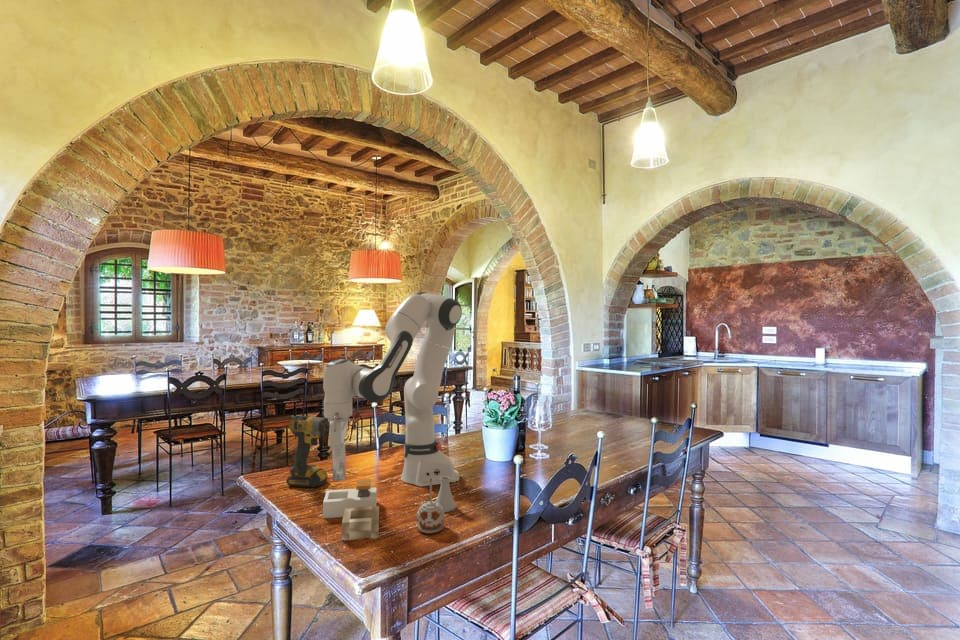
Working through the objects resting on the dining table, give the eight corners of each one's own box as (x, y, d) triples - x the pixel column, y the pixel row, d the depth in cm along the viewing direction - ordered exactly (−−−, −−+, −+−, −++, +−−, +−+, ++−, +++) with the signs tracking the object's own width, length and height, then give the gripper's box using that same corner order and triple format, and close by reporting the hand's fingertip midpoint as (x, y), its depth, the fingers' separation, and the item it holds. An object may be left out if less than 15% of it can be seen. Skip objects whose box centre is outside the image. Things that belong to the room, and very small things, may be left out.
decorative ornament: (415, 534, 135) (416, 482, 135) (419, 523, 143) (419, 473, 143) (442, 535, 135) (443, 483, 135) (444, 523, 143) (445, 474, 143)
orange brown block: (370, 500, 156) (371, 479, 156) (370, 507, 150) (370, 485, 150) (357, 501, 155) (357, 479, 155) (356, 508, 149) (356, 486, 149)
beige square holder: (378, 522, 143) (379, 506, 143) (378, 537, 133) (378, 520, 133) (344, 525, 141) (344, 508, 141) (341, 540, 131) (341, 522, 131)
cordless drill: (332, 491, 168) (333, 421, 168) (282, 486, 172) (282, 418, 172) (344, 482, 177) (345, 416, 177) (296, 478, 181) (297, 413, 181)
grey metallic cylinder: (346, 475, 154) (345, 439, 153) (345, 480, 150) (344, 442, 149) (333, 476, 153) (332, 440, 153) (332, 481, 149) (331, 443, 149)
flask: (447, 514, 149) (447, 483, 149) (429, 509, 153) (429, 479, 153) (460, 507, 155) (460, 476, 155) (442, 502, 159) (442, 472, 159)
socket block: (376, 502, 158) (376, 487, 158) (375, 514, 148) (376, 498, 148) (326, 505, 155) (326, 490, 155) (322, 518, 145) (323, 502, 145)
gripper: (345, 416, 141) (346, 462, 142) (350, 403, 161) (351, 444, 162) (323, 418, 140) (324, 464, 140) (331, 404, 160) (332, 445, 160)
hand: (339, 453), depth 151 cm, fingers closed on grey metallic cylinder, 4 cm apart
